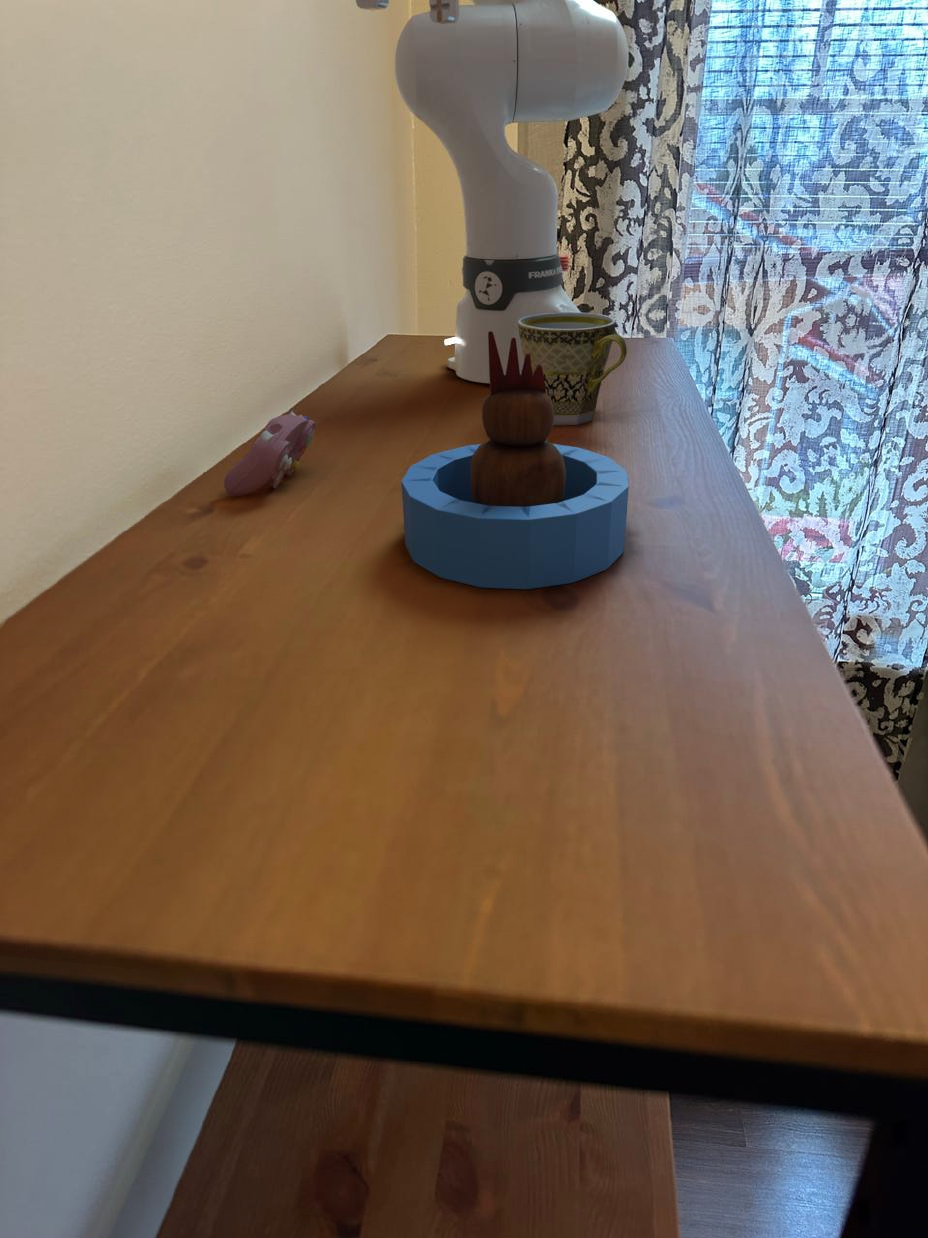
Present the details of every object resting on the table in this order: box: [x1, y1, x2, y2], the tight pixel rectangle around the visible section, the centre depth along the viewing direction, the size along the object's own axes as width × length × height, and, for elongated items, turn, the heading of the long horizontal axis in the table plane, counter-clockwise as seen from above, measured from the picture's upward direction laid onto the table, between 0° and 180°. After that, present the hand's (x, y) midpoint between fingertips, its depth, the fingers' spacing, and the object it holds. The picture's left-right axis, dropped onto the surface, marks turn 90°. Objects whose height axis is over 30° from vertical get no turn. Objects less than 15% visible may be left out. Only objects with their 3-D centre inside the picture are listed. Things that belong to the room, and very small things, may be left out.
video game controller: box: [223, 411, 317, 497], centre depth 73 cm, size 10×5×7 cm, turn 168°
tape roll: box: [400, 443, 630, 590], centre depth 61 cm, size 16×16×5 cm
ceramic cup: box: [518, 311, 628, 426], centre depth 87 cm, size 13×10×10 cm
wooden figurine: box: [470, 331, 566, 507], centre depth 58 cm, size 7×6×15 cm
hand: (410, 16), depth 61 cm, fingers open, 8 cm apart
